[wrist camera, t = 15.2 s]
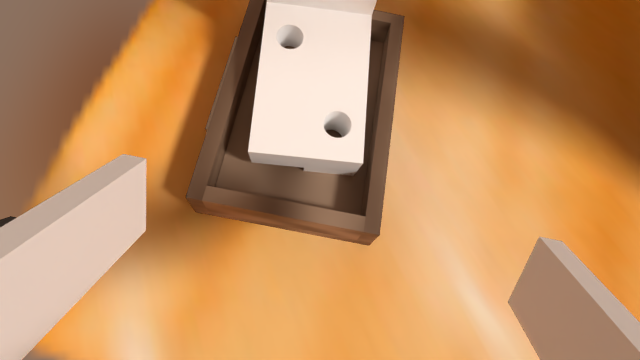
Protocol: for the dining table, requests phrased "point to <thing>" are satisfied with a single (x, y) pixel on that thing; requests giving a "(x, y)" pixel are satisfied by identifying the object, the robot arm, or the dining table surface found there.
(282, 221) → the walnut tray
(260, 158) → the bracket
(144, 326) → the dining table surface
